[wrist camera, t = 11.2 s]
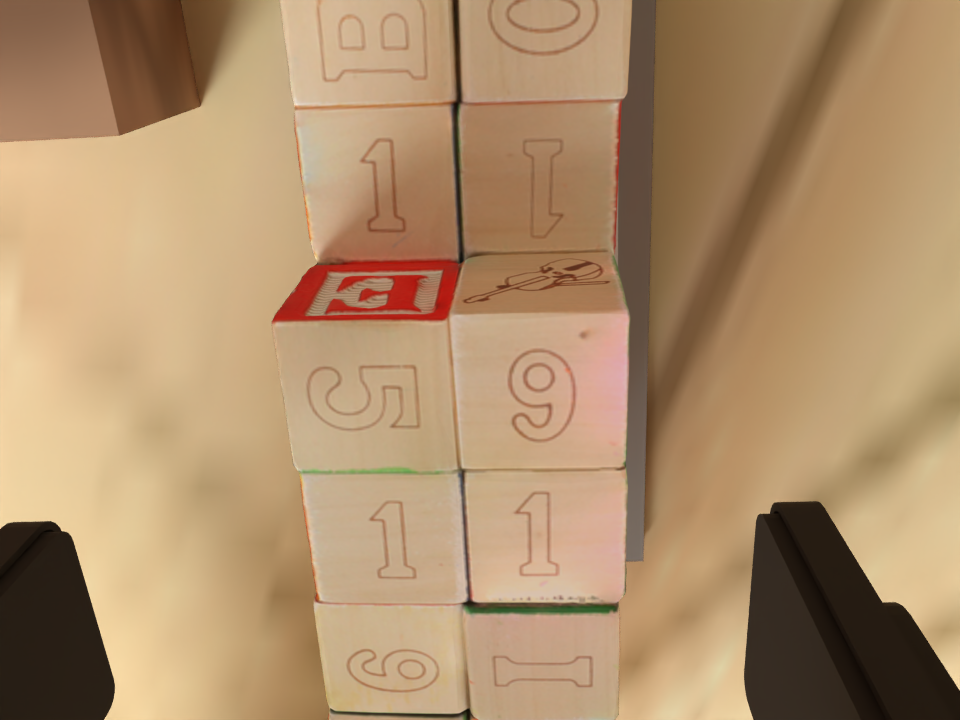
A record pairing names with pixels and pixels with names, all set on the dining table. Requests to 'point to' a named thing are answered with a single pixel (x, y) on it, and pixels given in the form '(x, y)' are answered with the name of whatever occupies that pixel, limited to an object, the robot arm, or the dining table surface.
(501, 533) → the stack of blocks
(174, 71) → the walnut cube
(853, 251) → the dining table surface
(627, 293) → the blueprint board
